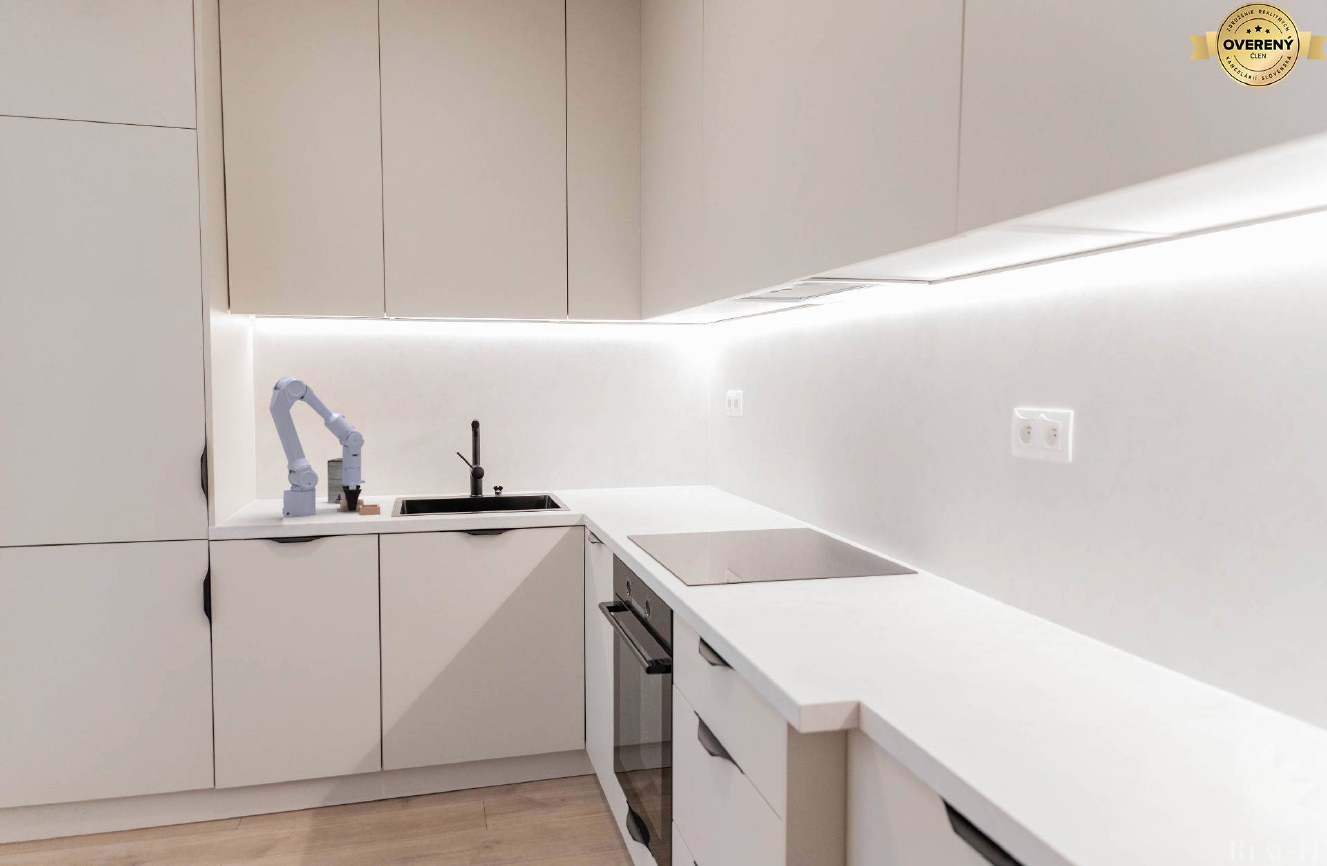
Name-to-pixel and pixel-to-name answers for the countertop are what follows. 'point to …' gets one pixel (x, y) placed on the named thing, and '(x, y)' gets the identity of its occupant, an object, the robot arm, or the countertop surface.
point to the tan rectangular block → (345, 507)
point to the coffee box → (335, 481)
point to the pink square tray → (369, 509)
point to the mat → (343, 511)
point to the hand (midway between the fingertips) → (351, 508)
